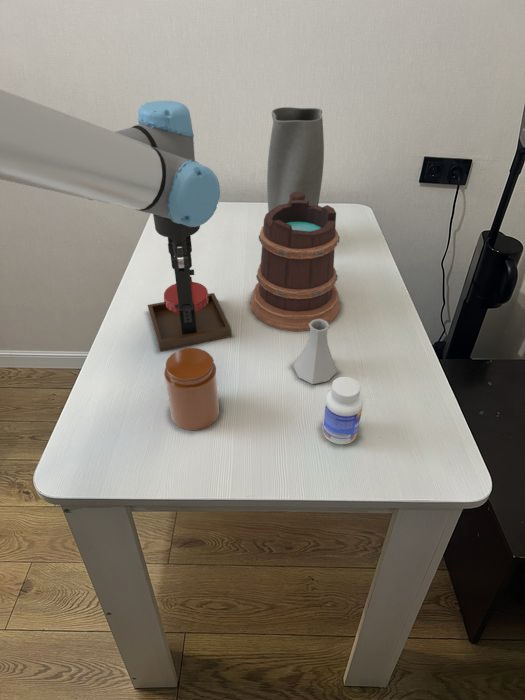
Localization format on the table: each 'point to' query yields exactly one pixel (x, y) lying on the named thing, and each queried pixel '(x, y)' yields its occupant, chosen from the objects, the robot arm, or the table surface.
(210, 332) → the tray
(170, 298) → the lid
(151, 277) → the table surface
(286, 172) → the vase
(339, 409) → the pill bottle
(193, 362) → the jar
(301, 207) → the mug
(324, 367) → the flask
